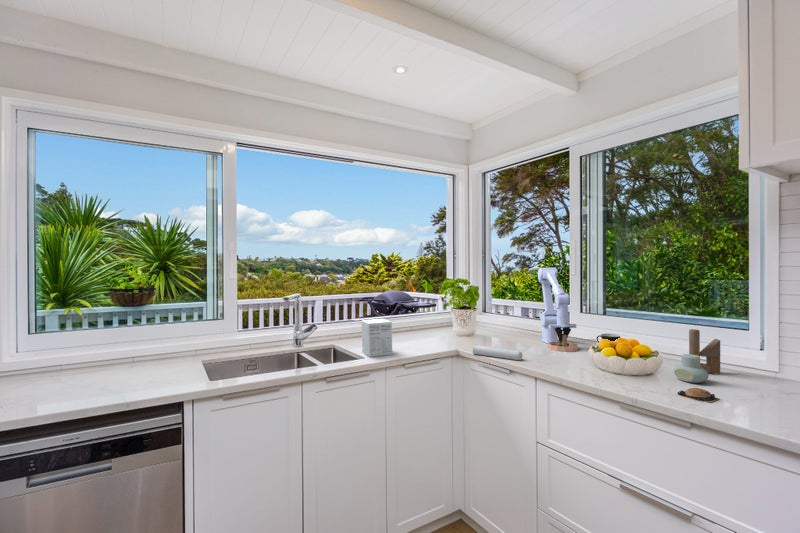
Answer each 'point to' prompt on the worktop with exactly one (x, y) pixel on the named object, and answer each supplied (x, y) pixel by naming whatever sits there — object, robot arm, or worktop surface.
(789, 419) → the worktop surface
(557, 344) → the candle dish
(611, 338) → the coffee mug
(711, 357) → the brown wooden sculpture
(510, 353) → the tube
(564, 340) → the tan rectangular block
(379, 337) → the supplement box
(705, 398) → the brown domed oval piece
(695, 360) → the air freshener
